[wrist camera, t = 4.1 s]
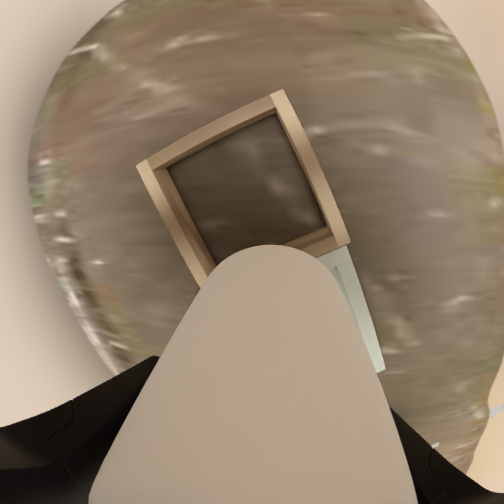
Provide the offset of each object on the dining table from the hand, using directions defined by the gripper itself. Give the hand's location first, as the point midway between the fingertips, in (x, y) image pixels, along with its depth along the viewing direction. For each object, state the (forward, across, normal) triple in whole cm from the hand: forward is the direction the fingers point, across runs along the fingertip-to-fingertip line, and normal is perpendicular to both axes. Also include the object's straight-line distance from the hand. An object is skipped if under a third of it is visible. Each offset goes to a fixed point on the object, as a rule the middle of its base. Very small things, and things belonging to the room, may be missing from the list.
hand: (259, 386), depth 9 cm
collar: (+12, +2, -4) cm, 13 cm away
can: (+5, 0, 0) cm, 5 cm away
